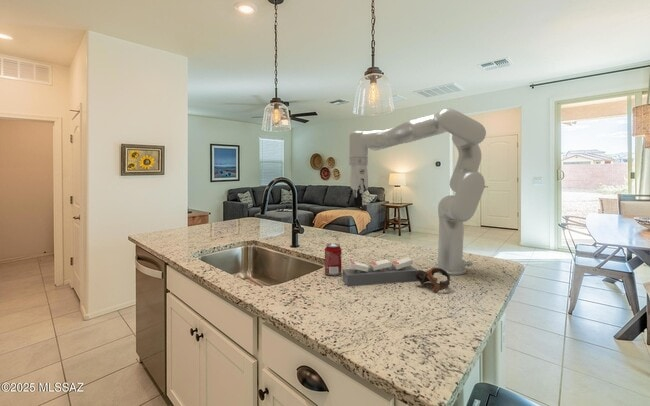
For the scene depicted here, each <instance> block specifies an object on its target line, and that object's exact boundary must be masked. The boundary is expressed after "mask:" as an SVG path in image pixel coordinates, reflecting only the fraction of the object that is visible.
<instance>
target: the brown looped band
mask: <svg viewBox="0 0 650 406" xmlns="http://www.w3.org/2000/svg"><path fill="white" fill-rule="evenodd" d="M417 270H418V271H416V272H415V274H414V275H415V278H416V279H417V280H418V281H417V282H419V283H420V285H422V286H423V285H424V284H426V283H429V282H430V283H431V284H432V285H434V286H433V288H432V291H433V292H434V293H438V292H439V291H443V290H445V289H448V288H449V286H450V284H451V283H450V281H451V275H450V274H448V273H447V272H446V271H445V270H443V269H441V268H437V267H435V268H434V267H431V268H430V269H428V270H426V271H424V270H422V269H417ZM439 271H440V272H441V273H440V272H439ZM438 273H440V274H441V275H442V276H444V277H446V280H439V279H438V278H437V277H435V276H434V275H435V274H438ZM419 275H421V276H422V277H419ZM438 280H439V283H438V282H437V281H438Z"/></svg>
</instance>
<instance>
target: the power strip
mask: <svg viewBox="0 0 650 406" xmlns="http://www.w3.org/2000/svg"><path fill="white" fill-rule="evenodd" d="M418 270H419V269H417V268H416V267H415V266H412V265H409V266H406V267H403V268H400V269H398V270H396V269H395V268H393V267H392V265H391V267H387V268H383V269H378V270H373V269H372V268H370V267H369V269H368V272H366V271H361V270H356V269H351V268H344V269H342V281H343V282H344V283H345V285H346V287H354V286H365V285H368V286H369V285H379V284H380V285H381V284H392V283H406V282H419V281H418V280H417V279H416V278H415V275H414V274H415V272H416V271H418ZM419 277H422V276H421V275H419Z"/></svg>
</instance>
